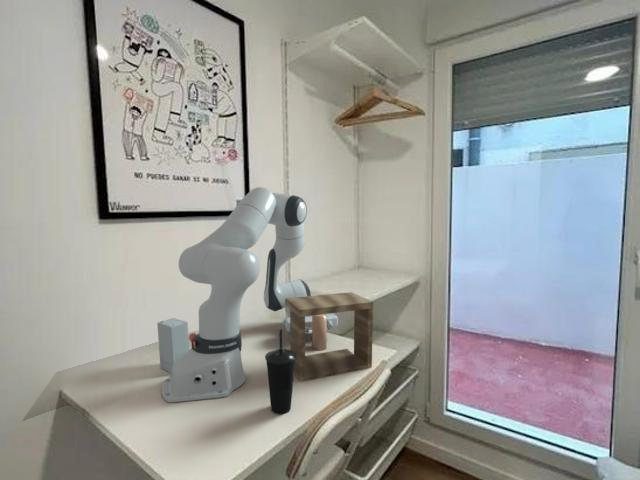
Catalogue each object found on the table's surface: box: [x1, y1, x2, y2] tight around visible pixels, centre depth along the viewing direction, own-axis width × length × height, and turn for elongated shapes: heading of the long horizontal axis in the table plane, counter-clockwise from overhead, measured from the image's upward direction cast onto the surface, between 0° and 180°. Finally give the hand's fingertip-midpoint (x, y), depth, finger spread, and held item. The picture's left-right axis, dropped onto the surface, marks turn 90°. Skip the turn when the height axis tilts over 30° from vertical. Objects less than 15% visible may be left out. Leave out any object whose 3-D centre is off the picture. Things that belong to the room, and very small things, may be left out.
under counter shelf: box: [285, 291, 374, 382], centre depth 110 cm, size 24×14×21 cm, turn 113°
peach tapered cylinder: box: [311, 314, 328, 351], centre depth 124 cm, size 5×5×12 cm
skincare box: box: [156, 317, 190, 374], centre depth 107 cm, size 8×6×15 cm
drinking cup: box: [264, 329, 297, 415], centre depth 85 cm, size 8×8×20 cm
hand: (319, 328), depth 124 cm, fingers open, 8 cm apart
